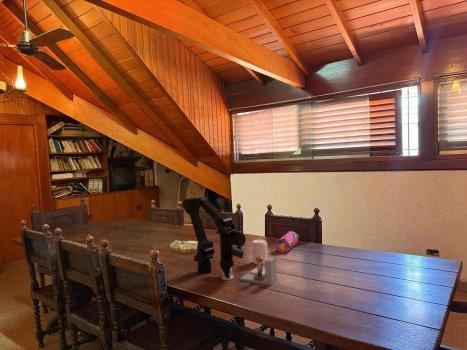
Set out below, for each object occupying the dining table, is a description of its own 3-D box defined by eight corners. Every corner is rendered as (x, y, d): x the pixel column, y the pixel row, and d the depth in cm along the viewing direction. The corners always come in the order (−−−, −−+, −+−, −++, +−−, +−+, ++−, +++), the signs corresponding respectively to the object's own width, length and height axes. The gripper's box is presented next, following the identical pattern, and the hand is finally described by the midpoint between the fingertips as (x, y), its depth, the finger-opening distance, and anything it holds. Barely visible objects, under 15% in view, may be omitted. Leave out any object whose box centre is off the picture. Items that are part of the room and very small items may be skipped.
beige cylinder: (255, 266, 176) (254, 243, 175) (250, 261, 184) (250, 240, 183) (269, 264, 178) (269, 242, 178) (264, 259, 186) (263, 238, 185)
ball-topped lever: (253, 278, 155) (252, 258, 154) (257, 275, 159) (256, 255, 158) (263, 280, 152) (262, 259, 152) (267, 277, 156) (266, 256, 156)
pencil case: (290, 254, 194) (290, 239, 194) (275, 252, 198) (274, 238, 198) (299, 244, 214) (299, 230, 213) (285, 243, 218) (285, 229, 217)
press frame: (240, 280, 157) (239, 257, 157) (255, 268, 172) (254, 248, 171) (271, 285, 149) (270, 261, 149) (284, 273, 164) (284, 251, 163)
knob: (221, 280, 158) (221, 266, 157) (221, 276, 164) (221, 262, 163) (233, 280, 158) (233, 265, 158) (233, 275, 164) (232, 261, 163)
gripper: (243, 247, 151) (245, 281, 152) (241, 237, 169) (243, 267, 170) (219, 248, 150) (220, 282, 151) (219, 238, 169) (221, 268, 170)
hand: (227, 274), depth 161 cm, fingers open, 8 cm apart
